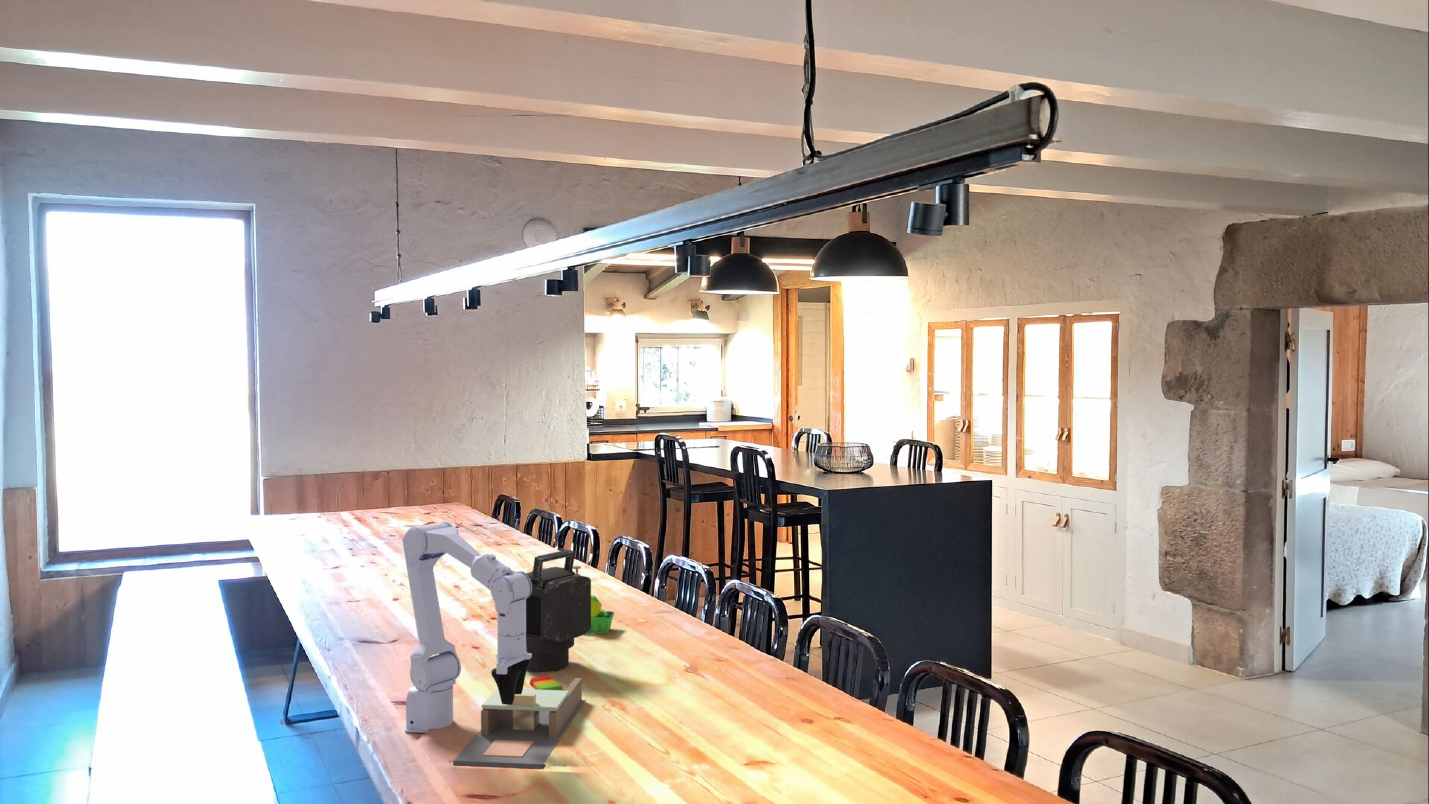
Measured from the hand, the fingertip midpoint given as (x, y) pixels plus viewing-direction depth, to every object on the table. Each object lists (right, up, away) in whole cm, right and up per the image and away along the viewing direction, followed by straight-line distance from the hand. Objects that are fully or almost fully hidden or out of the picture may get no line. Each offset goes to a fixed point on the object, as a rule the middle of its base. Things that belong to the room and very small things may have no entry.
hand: (512, 698), depth 206 cm
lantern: (-2, -9, +57) cm, 58 cm away
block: (+1, -9, +11) cm, 14 cm away
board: (+1, -10, +11) cm, 15 cm away
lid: (+1, -4, +11) cm, 11 cm away
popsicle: (+1, -10, +38) cm, 39 cm away
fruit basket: (+6, -7, +93) cm, 93 cm away
